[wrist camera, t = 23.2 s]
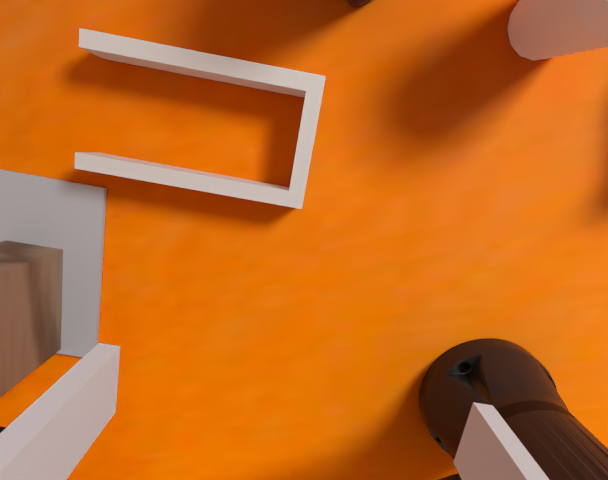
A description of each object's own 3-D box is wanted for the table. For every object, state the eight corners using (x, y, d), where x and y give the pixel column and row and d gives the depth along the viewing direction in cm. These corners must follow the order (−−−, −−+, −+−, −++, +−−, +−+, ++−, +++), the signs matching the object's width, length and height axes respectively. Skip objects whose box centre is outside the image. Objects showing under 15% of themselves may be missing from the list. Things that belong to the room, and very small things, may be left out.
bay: (301, 203, 38) (301, 209, 34) (98, 167, 37) (74, 168, 34) (323, 85, 36) (325, 76, 32) (104, 42, 35) (79, 28, 31)
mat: (97, 356, 42) (94, 359, 42) (-25, 337, 42) (-30, 339, 41) (106, 187, 38) (103, 188, 37) (-30, 163, 37) (-35, 163, 37)
